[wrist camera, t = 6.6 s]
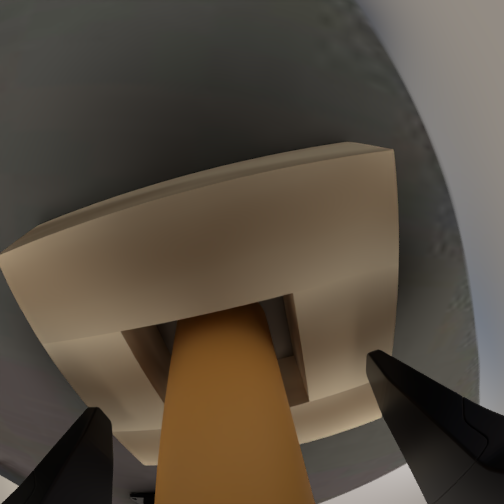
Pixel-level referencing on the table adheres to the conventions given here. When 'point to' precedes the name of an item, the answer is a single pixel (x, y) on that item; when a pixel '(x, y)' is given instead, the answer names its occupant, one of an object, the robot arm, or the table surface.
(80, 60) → the table surface
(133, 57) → the table surface
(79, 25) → the table surface
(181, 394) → the peg
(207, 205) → the socket block
